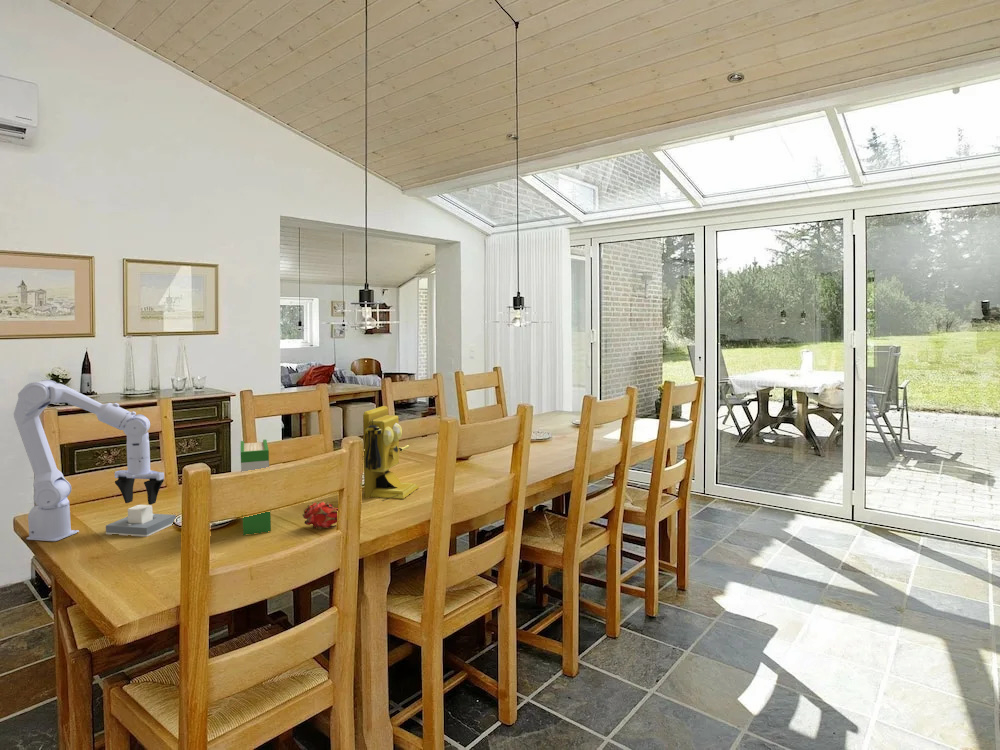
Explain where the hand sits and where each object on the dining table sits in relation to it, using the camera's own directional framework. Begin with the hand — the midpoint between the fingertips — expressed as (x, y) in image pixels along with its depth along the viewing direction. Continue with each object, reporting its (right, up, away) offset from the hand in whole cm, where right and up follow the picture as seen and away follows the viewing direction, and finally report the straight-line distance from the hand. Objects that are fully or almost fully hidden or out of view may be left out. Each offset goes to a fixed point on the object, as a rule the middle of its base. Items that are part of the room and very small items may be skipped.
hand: (140, 503), depth 178 cm
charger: (0, -7, 0) cm, 7 cm away
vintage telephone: (+67, -5, +39) cm, 77 cm away
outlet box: (0, -8, +1) cm, 8 cm away
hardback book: (+32, -8, +5) cm, 33 cm away
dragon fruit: (+53, -8, +2) cm, 54 cm away
